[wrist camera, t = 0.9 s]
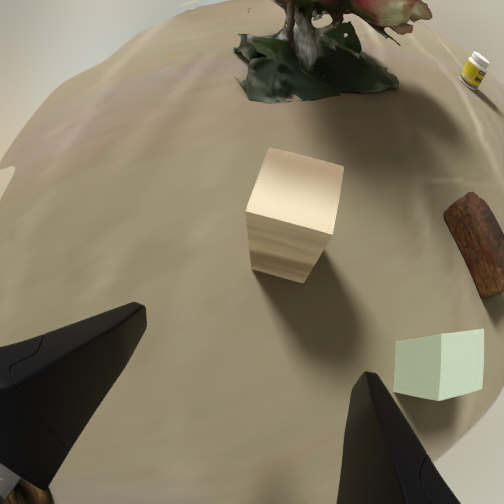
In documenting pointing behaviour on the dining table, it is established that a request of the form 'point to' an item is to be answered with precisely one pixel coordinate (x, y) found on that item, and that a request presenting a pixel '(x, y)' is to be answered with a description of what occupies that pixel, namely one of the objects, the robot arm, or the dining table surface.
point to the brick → (478, 242)
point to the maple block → (292, 213)
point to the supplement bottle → (474, 71)
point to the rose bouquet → (323, 50)
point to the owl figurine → (28, 494)
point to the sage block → (440, 365)
